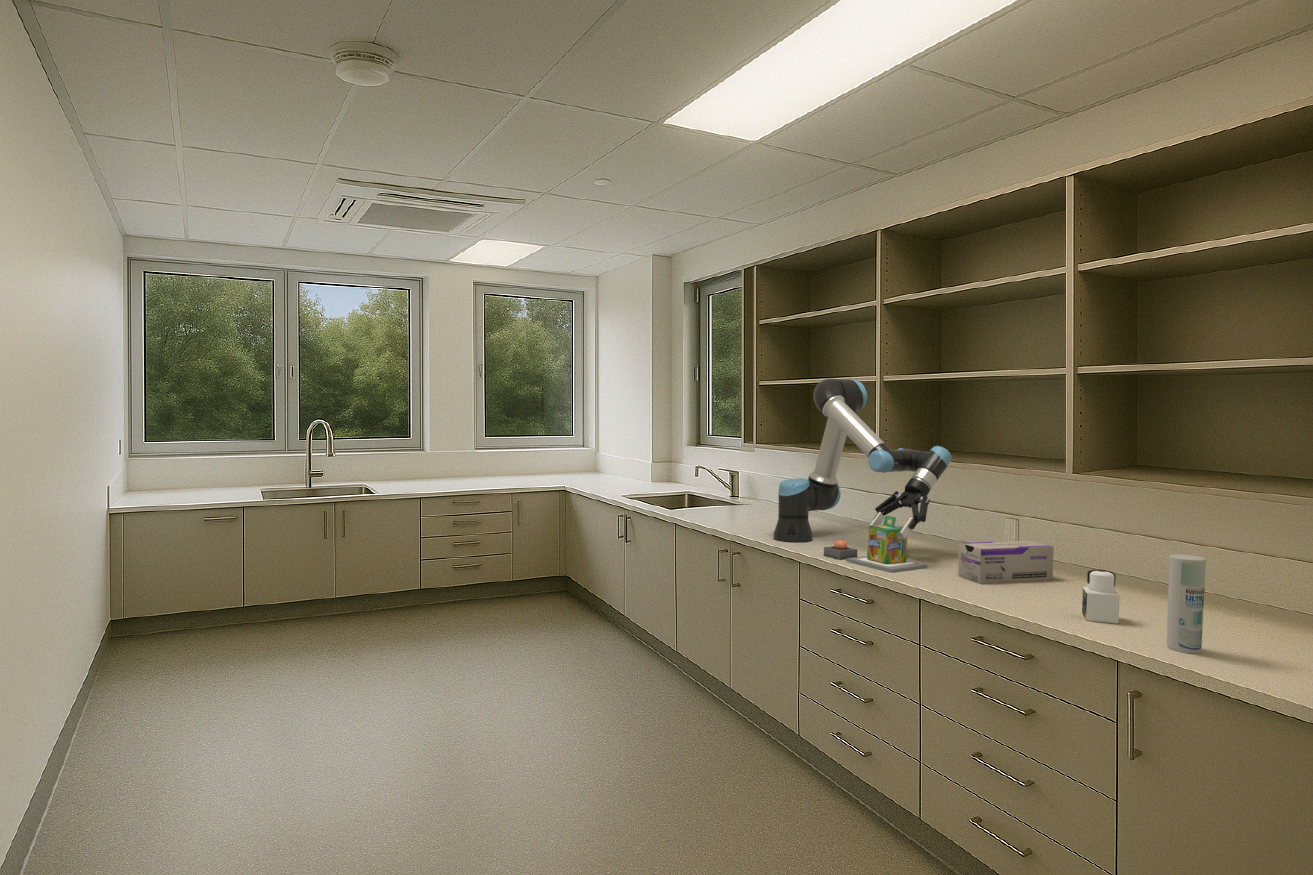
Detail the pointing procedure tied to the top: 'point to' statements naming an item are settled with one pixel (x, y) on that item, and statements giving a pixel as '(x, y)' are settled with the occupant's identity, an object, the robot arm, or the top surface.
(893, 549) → the chalk box
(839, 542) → the button
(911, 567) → the board
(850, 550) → the button housing
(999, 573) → the surgical sutures box
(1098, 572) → the medicine bottle
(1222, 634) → the top surface
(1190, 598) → the spray can
